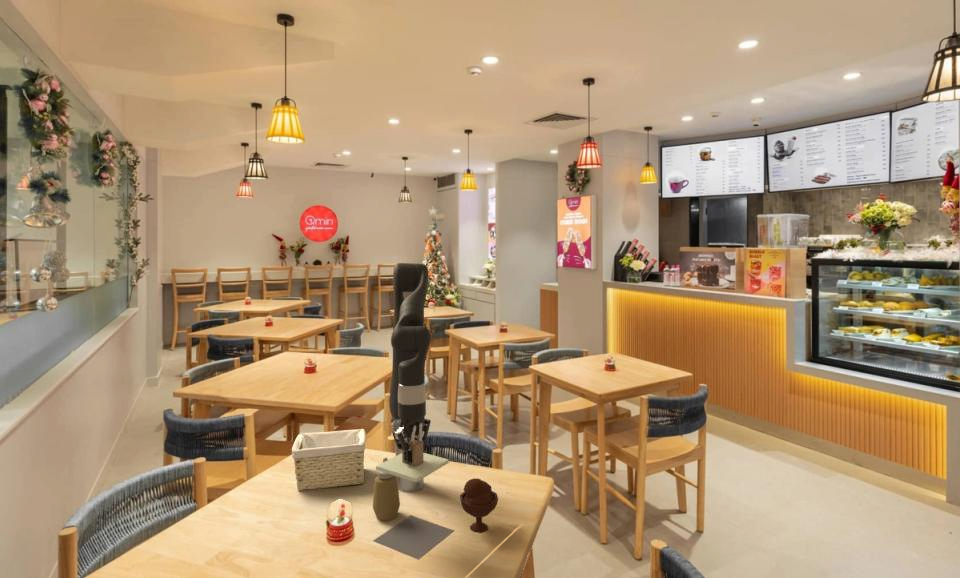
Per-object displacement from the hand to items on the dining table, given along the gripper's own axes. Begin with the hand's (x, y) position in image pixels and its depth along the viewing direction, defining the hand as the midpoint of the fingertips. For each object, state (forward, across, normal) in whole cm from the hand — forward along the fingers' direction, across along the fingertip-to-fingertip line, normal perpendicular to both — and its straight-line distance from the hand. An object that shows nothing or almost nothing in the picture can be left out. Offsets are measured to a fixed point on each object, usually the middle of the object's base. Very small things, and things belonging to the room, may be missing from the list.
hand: (412, 460), depth 142 cm
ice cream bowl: (+22, -13, +13) cm, 29 cm away
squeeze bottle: (+22, -4, -14) cm, 26 cm away
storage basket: (+23, -13, -48) cm, 54 cm away
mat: (+22, 0, 0) cm, 22 cm away
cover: (+2, 0, 0) cm, 2 cm away
